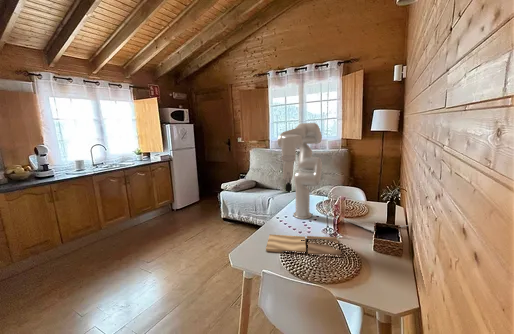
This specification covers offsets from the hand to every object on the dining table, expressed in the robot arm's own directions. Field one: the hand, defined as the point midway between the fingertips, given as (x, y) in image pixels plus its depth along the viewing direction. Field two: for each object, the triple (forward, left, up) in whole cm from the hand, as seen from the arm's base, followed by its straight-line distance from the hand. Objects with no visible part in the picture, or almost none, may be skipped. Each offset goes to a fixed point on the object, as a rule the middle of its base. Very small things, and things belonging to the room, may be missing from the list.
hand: (288, 190), depth 134 cm
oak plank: (+11, -1, -27) cm, 29 cm away
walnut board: (+11, +18, -27) cm, 34 cm away
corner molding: (-28, +52, -28) cm, 65 cm away
